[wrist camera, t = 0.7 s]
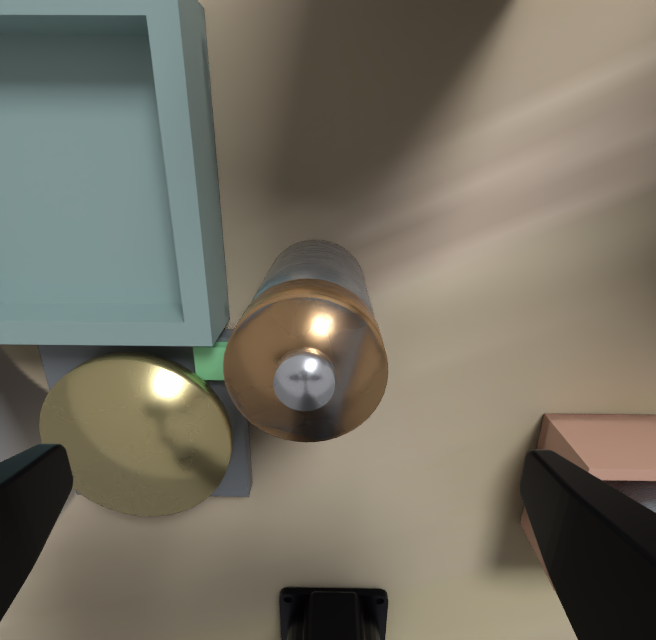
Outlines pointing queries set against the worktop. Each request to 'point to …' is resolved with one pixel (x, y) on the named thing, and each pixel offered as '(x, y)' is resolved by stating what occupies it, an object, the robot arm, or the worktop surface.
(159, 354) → the checker cradle
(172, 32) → the teal shallow square tray
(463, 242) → the worktop surface
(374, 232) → the worktop surface
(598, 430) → the pink open-ended box
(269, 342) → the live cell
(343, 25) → the worktop surface
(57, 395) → the brass disc
